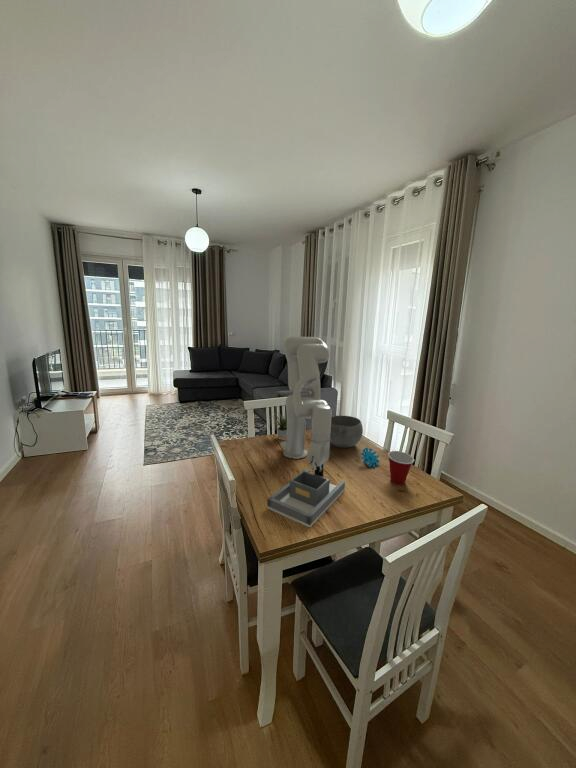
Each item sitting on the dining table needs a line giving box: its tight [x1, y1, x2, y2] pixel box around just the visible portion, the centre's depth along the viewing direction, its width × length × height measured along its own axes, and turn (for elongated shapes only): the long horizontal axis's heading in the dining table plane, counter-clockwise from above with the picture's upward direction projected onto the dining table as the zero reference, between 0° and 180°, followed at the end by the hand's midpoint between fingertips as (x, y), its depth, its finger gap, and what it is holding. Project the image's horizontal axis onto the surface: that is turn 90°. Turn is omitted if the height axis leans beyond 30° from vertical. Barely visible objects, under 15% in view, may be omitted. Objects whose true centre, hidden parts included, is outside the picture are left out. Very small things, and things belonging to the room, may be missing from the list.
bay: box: [267, 468, 346, 528], centre depth 118 cm, size 18×28×4 cm, turn 146°
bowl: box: [330, 415, 364, 449], centre depth 168 cm, size 20×20×15 cm
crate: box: [289, 470, 331, 507], centre depth 118 cm, size 12×10×7 cm
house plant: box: [271, 412, 287, 439], centre depth 176 cm, size 14×14×16 cm
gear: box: [360, 447, 381, 469], centre depth 149 cm, size 11×6×10 cm
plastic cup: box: [387, 450, 415, 485], centre depth 132 cm, size 11×11×12 cm
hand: (318, 478), depth 124 cm, fingers closed
